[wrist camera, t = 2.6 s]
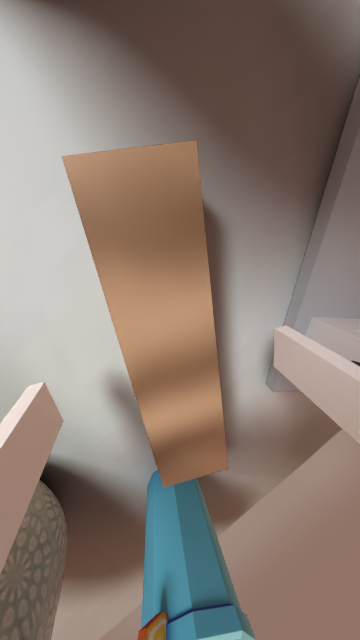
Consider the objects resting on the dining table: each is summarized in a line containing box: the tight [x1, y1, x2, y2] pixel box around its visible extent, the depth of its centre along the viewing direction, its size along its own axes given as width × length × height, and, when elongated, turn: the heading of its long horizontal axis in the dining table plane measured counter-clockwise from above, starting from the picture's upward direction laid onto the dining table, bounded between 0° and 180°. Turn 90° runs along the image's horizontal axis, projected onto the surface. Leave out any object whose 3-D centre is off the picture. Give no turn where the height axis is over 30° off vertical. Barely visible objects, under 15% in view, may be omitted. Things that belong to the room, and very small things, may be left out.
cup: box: [138, 471, 255, 640], centre depth 16 cm, size 14×8×15 cm, turn 48°
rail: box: [62, 140, 228, 488], centre depth 14 cm, size 20×5×5 cm, turn 9°
